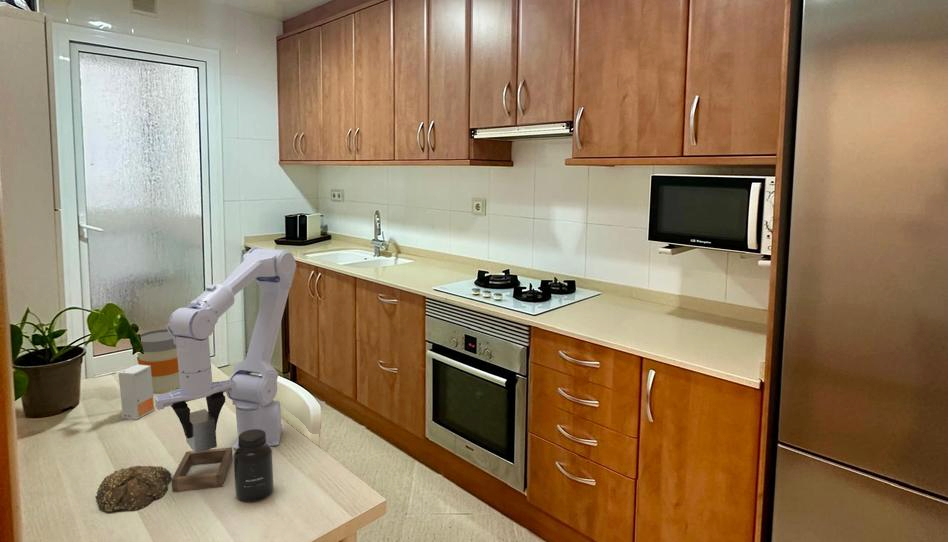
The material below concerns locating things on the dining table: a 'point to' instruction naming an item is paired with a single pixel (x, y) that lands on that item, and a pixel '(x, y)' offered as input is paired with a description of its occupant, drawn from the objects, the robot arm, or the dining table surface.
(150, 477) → the bread roll
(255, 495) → the supplement bottle
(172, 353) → the reusable coffee cup
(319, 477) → the dining table surface
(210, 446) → the steel bracket block
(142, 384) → the skincare box
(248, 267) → the robot arm
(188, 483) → the wooden frame
